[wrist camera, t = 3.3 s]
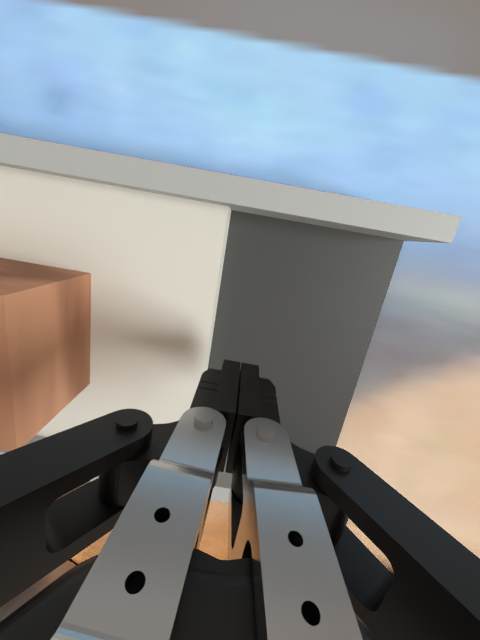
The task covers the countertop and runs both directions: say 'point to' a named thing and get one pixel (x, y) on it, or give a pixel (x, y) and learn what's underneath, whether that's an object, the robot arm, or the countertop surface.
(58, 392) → the block
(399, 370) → the countertop surface
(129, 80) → the countertop surface
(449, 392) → the countertop surface
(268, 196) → the trap channel
